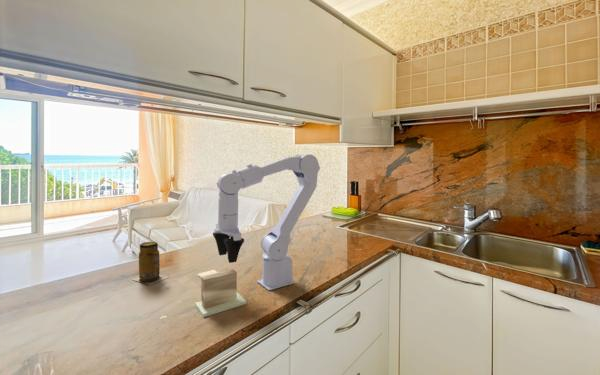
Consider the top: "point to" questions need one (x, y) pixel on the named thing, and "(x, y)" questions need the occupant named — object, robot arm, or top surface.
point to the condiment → (149, 264)
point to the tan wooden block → (218, 288)
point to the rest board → (220, 306)
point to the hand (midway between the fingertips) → (227, 258)
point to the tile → (207, 273)
